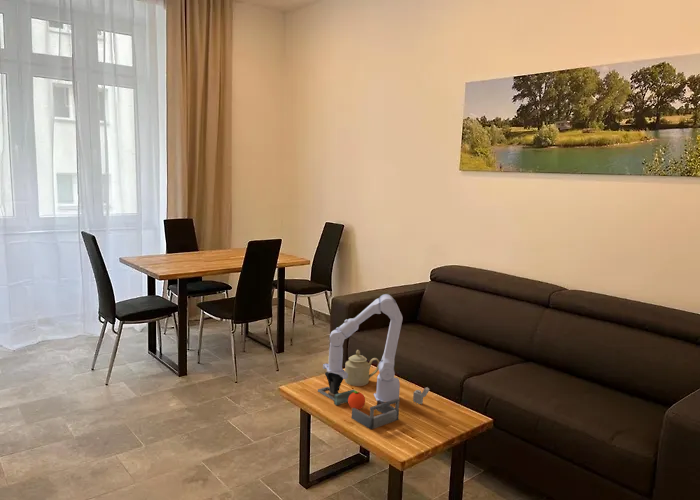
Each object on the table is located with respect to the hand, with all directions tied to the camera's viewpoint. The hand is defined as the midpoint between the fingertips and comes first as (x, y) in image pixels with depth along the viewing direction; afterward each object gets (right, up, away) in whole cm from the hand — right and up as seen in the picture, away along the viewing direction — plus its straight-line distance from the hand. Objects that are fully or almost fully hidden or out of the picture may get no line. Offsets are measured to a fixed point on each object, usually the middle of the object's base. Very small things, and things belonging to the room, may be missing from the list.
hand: (334, 389), depth 229 cm
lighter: (+36, -5, -3) cm, 36 cm away
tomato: (+9, -5, -10) cm, 14 cm away
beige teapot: (+11, -1, +19) cm, 22 cm away
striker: (+2, -3, -2) cm, 4 cm away
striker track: (-1, -3, +1) cm, 3 cm away
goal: (+16, -6, -18) cm, 25 cm away
